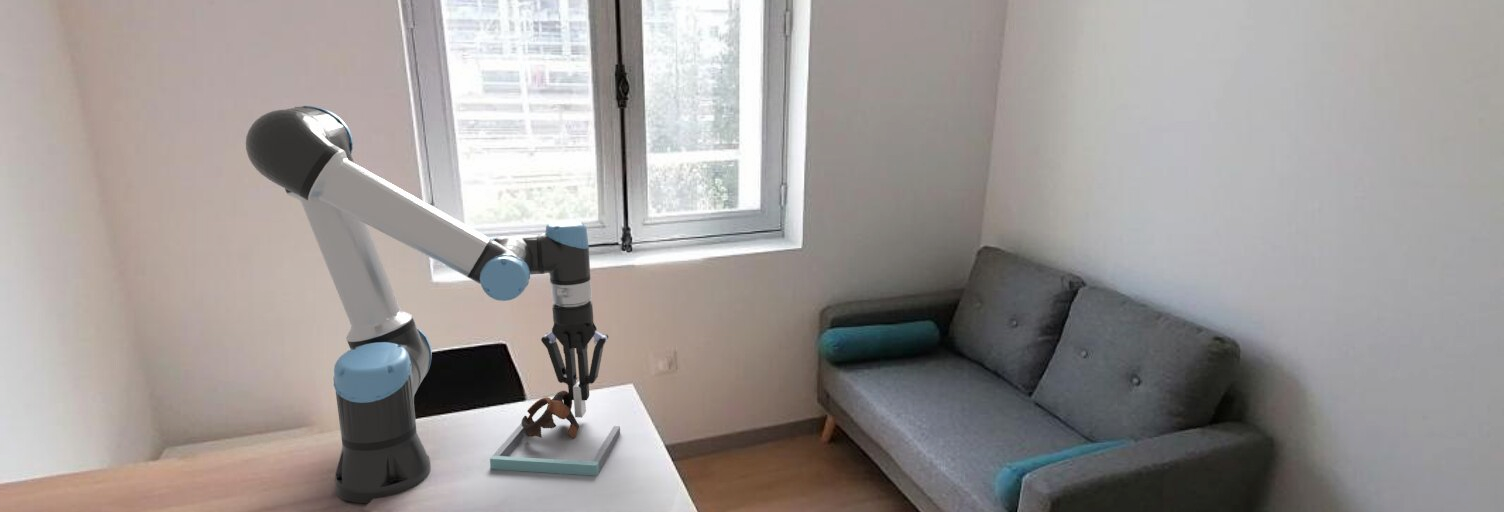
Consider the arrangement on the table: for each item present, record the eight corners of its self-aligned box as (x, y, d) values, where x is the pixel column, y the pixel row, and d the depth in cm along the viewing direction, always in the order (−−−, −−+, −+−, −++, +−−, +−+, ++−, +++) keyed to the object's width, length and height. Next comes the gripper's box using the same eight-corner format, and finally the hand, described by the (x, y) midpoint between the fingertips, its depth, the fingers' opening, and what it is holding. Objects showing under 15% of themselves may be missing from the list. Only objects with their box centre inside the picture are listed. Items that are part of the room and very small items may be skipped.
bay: (490, 469, 139) (489, 458, 139) (523, 430, 154) (523, 420, 154) (597, 475, 137) (596, 465, 137) (620, 435, 152) (619, 426, 152)
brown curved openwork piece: (572, 450, 148) (544, 424, 144) (538, 461, 152) (509, 435, 148) (593, 402, 157) (567, 375, 153) (560, 413, 161) (533, 387, 157)
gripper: (532, 307, 147) (542, 422, 153) (599, 308, 146) (607, 424, 151) (546, 295, 154) (555, 405, 160) (610, 295, 153) (617, 407, 159)
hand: (580, 414), depth 156 cm, fingers closed
